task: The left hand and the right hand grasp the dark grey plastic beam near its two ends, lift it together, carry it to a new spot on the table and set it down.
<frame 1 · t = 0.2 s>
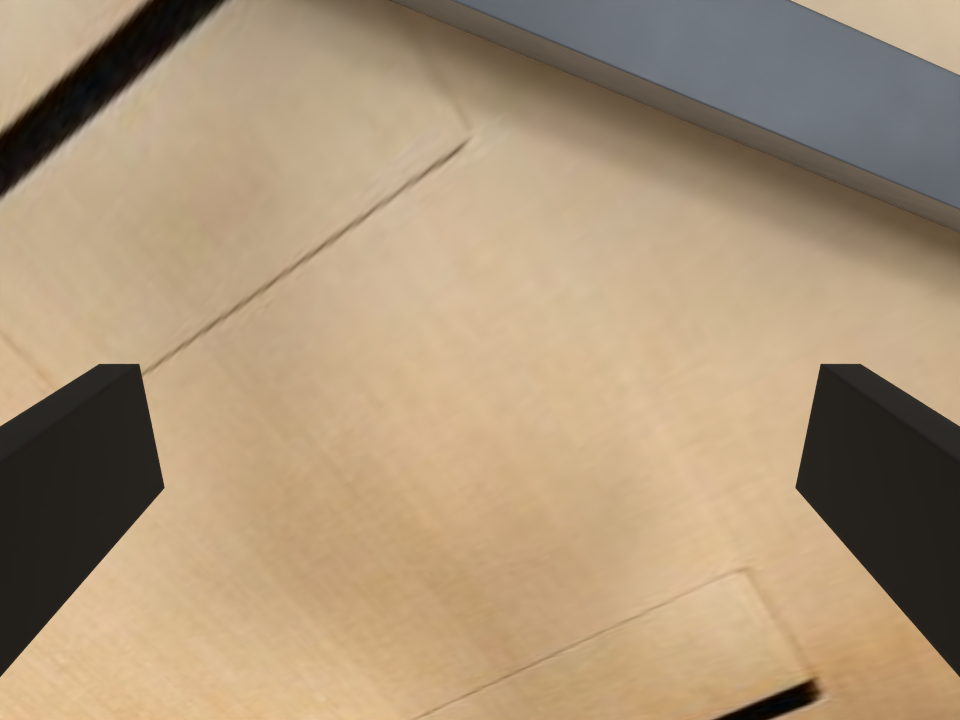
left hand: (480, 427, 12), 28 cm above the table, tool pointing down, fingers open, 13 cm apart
beam: (665, 59, 35), on the table
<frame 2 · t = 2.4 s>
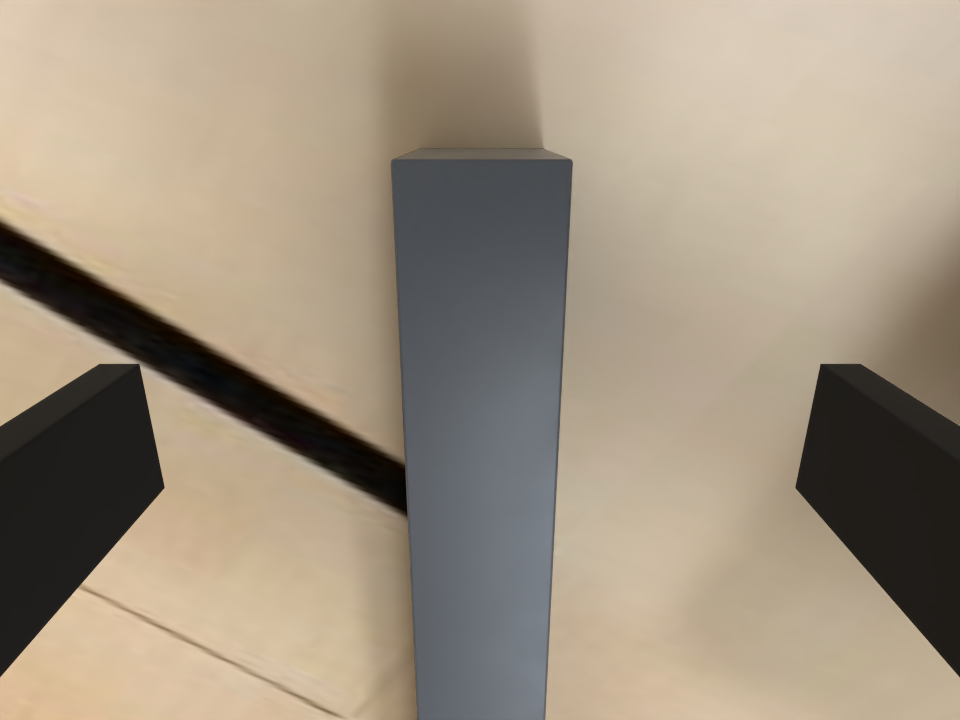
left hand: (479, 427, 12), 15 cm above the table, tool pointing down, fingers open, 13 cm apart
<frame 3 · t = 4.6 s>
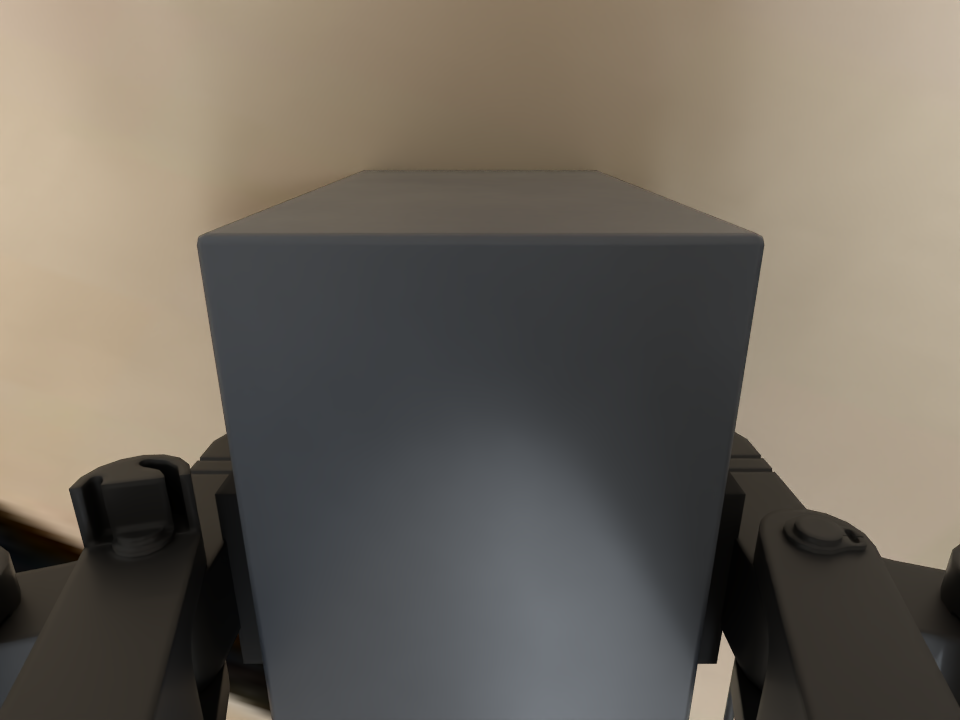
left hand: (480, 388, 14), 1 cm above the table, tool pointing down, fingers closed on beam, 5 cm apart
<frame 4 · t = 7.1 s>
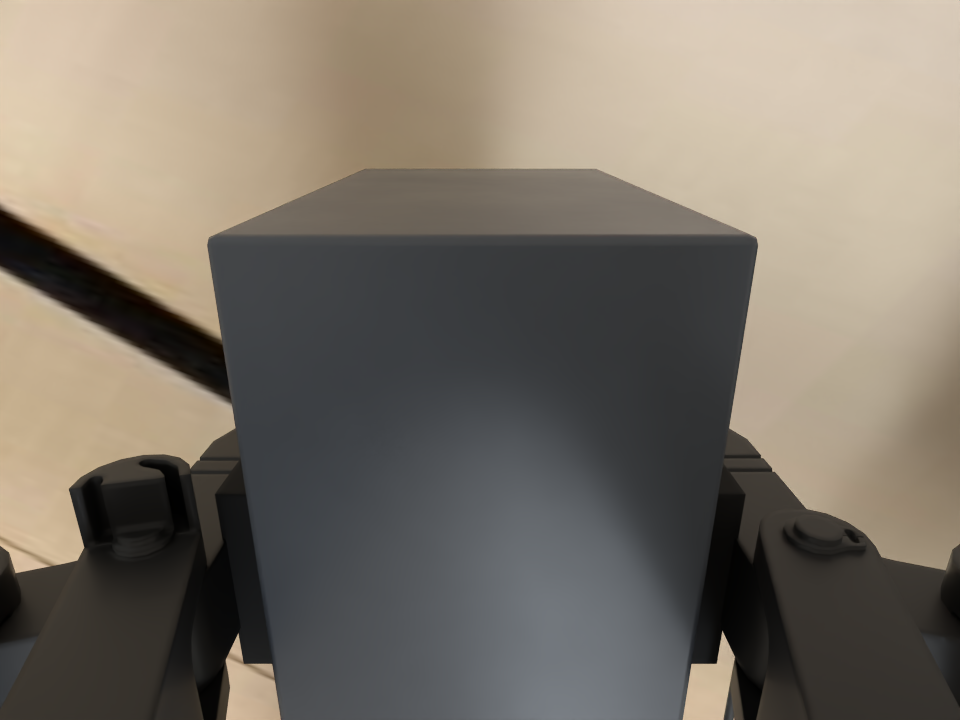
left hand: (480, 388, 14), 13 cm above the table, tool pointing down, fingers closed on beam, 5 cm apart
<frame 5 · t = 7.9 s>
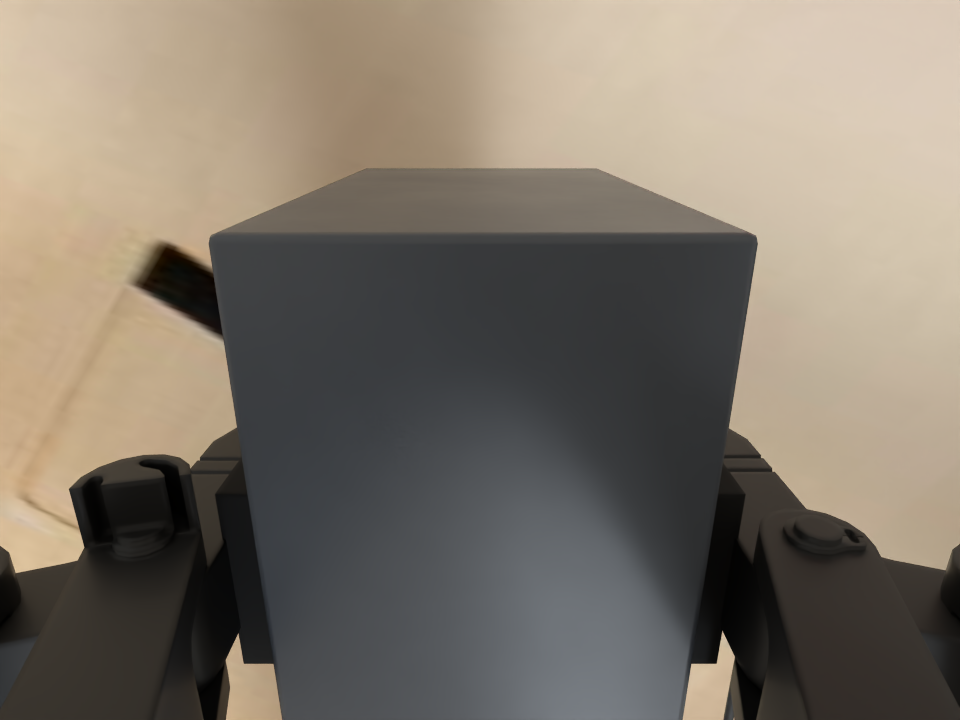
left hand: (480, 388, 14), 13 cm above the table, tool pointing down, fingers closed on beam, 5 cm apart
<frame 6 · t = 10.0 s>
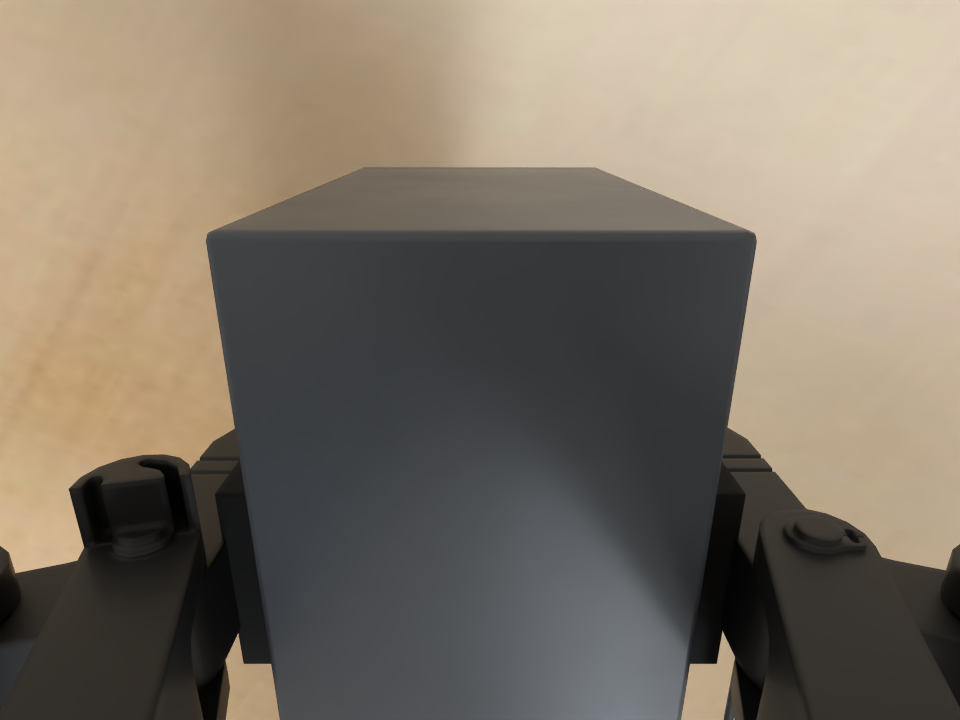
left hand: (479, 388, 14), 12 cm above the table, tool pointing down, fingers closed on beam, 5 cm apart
when the left hand's fingers open (2 cm above the table, at t = 11.6 s): beam drops 1 cm, on the table.
when the right hand's fingers open (5 cm above the table, at t = 11.8 s): beam stays where it is, on the table.
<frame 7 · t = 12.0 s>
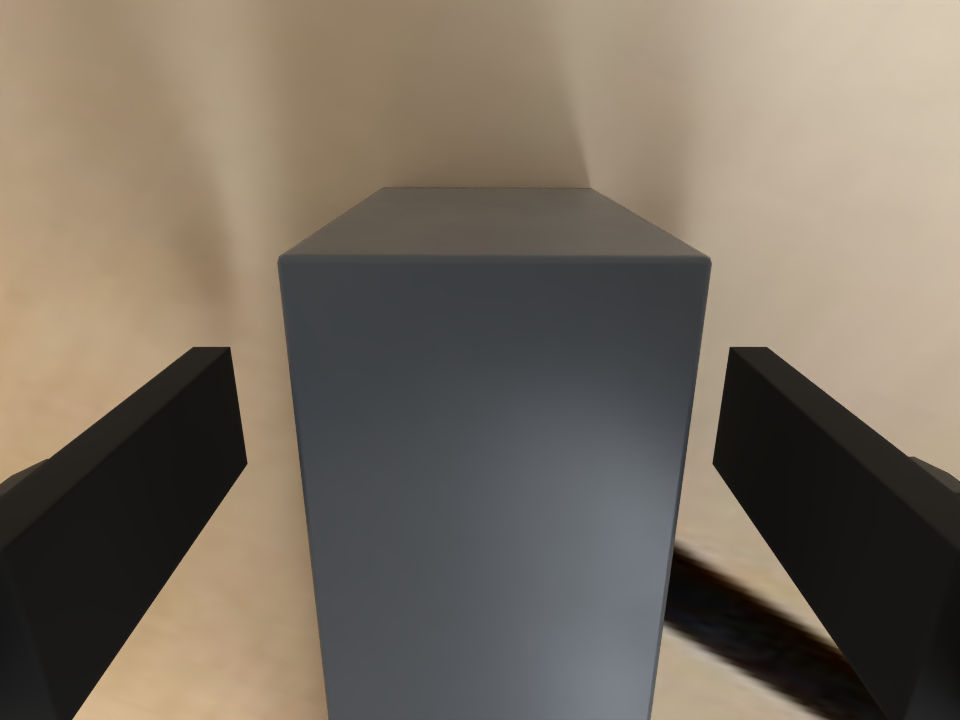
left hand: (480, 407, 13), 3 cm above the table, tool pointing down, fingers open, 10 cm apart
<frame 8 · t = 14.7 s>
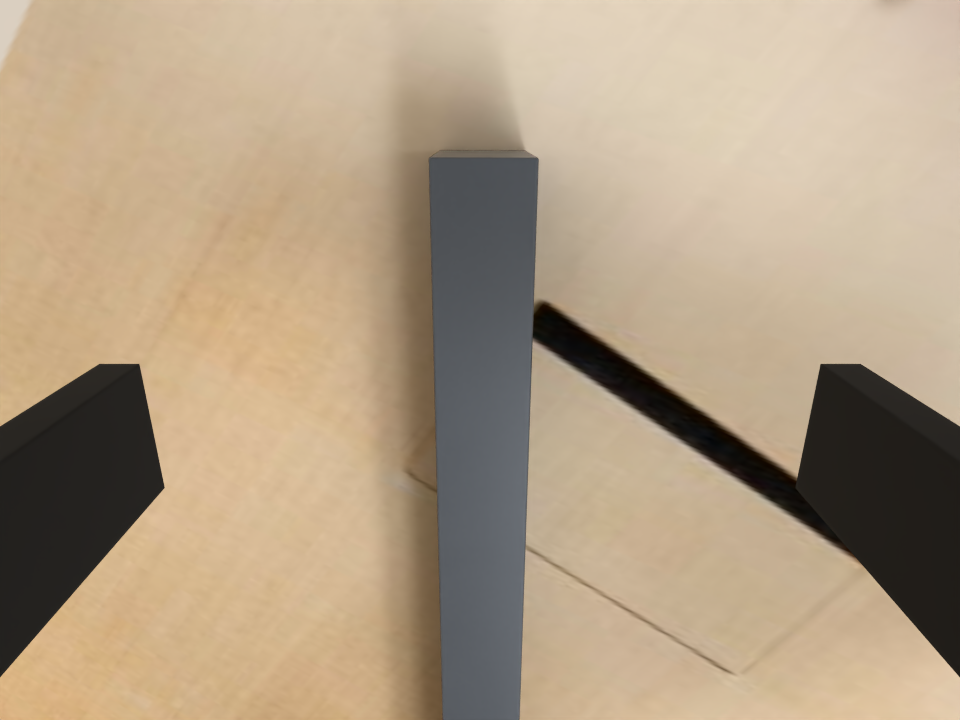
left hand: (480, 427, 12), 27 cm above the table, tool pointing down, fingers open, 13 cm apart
beam: (480, 672, 50), on the table
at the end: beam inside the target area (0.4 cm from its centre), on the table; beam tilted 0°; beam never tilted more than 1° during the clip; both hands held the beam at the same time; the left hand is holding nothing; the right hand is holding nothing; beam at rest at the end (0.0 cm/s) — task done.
